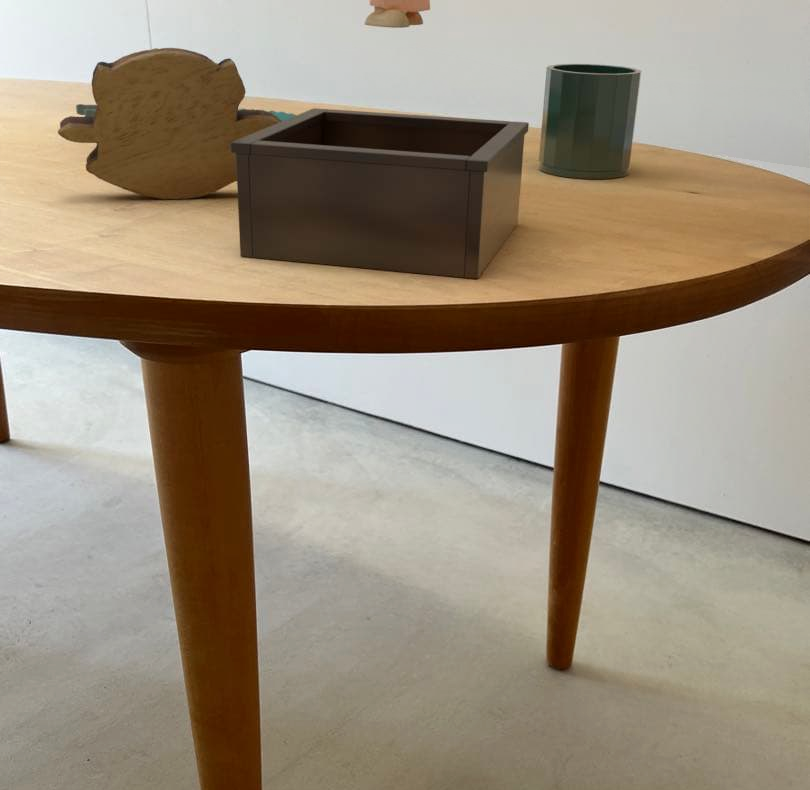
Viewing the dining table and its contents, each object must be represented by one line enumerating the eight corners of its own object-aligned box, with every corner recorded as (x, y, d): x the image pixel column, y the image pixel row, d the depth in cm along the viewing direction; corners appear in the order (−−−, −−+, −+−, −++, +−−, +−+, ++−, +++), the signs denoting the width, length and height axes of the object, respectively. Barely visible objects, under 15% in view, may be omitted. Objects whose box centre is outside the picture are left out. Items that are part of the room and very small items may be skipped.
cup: (631, 165, 97) (644, 66, 93) (625, 182, 90) (637, 76, 87) (545, 159, 98) (553, 61, 95) (532, 175, 92) (541, 70, 88)
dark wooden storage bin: (521, 223, 76) (528, 122, 73) (480, 280, 64) (487, 161, 61) (314, 205, 80) (312, 108, 76) (235, 256, 67) (230, 142, 64)
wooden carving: (284, 185, 85) (280, 44, 81) (299, 198, 82) (296, 50, 77) (63, 194, 81) (45, 44, 76) (67, 208, 77) (49, 51, 72)
